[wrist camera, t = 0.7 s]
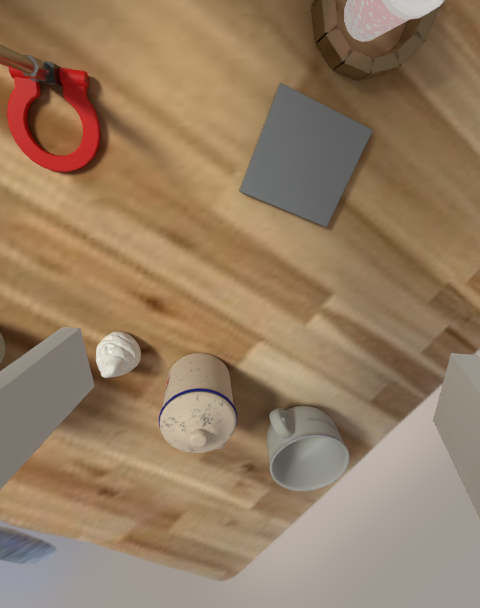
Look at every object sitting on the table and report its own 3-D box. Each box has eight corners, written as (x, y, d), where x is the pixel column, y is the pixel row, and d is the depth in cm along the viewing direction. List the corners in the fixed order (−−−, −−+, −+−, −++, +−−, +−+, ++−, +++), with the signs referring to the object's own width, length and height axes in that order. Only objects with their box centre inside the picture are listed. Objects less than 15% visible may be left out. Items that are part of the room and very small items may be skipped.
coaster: (238, 190, 38) (239, 191, 37) (278, 84, 34) (280, 83, 34) (323, 225, 41) (326, 227, 40) (368, 130, 37) (373, 129, 36)
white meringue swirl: (109, 345, 37) (144, 376, 39) (121, 322, 43) (151, 350, 45) (74, 373, 38) (110, 402, 40) (90, 346, 44) (121, 373, 46)
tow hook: (104, 175, 36) (99, 73, 33) (57, 191, 25) (40, 36, 21) (20, 166, 35) (4, 59, 31) (-70, 178, 24) (-113, 11, 20)
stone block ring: (290, 6, 32) (298, -9, 29) (382, -96, 30) (400, -122, 27) (354, 103, 36) (366, 98, 33) (439, 19, 34) (461, 6, 31)
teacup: (337, 433, 54) (359, 476, 47) (275, 459, 55) (287, 505, 48) (309, 368, 49) (329, 405, 41) (241, 398, 49) (248, 439, 42)
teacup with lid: (154, 365, 46) (139, 428, 35) (215, 340, 45) (220, 395, 35) (192, 426, 51) (190, 498, 40) (248, 404, 50) (261, 470, 39)
